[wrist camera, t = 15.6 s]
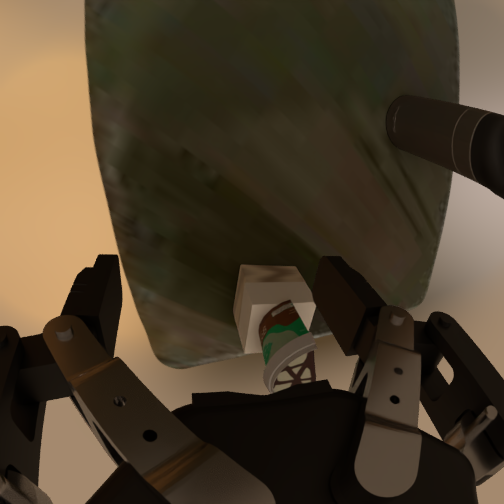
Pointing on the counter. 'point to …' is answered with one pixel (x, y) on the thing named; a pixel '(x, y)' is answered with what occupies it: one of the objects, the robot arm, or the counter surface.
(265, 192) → the counter surface
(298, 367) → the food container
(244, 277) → the tower base block
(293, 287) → the tower top block
